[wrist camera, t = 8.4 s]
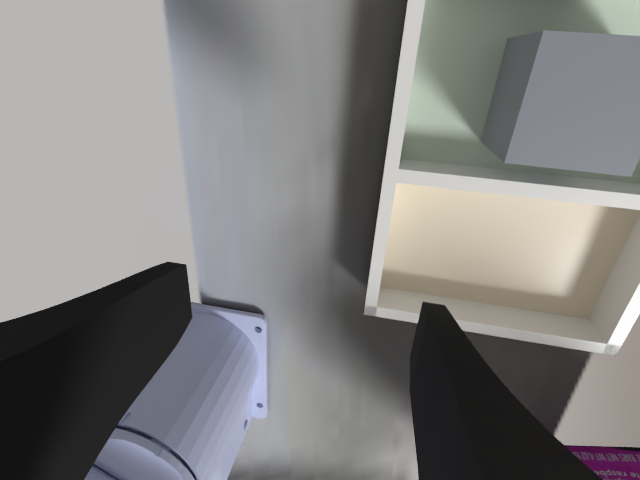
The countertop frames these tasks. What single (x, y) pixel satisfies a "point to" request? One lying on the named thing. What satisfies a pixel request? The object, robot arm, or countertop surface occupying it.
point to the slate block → (568, 102)
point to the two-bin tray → (498, 192)
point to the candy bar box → (610, 461)
